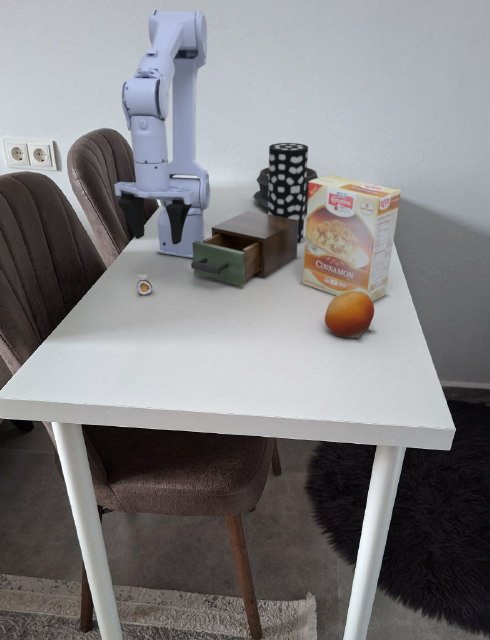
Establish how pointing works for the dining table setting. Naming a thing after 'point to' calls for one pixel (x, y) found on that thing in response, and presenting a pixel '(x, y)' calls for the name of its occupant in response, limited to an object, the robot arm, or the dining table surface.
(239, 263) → the drawer
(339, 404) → the dining table surface
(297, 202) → the spotted tube
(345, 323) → the fruit
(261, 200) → the casserole
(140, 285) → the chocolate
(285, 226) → the cabinet
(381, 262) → the coffeecake box
